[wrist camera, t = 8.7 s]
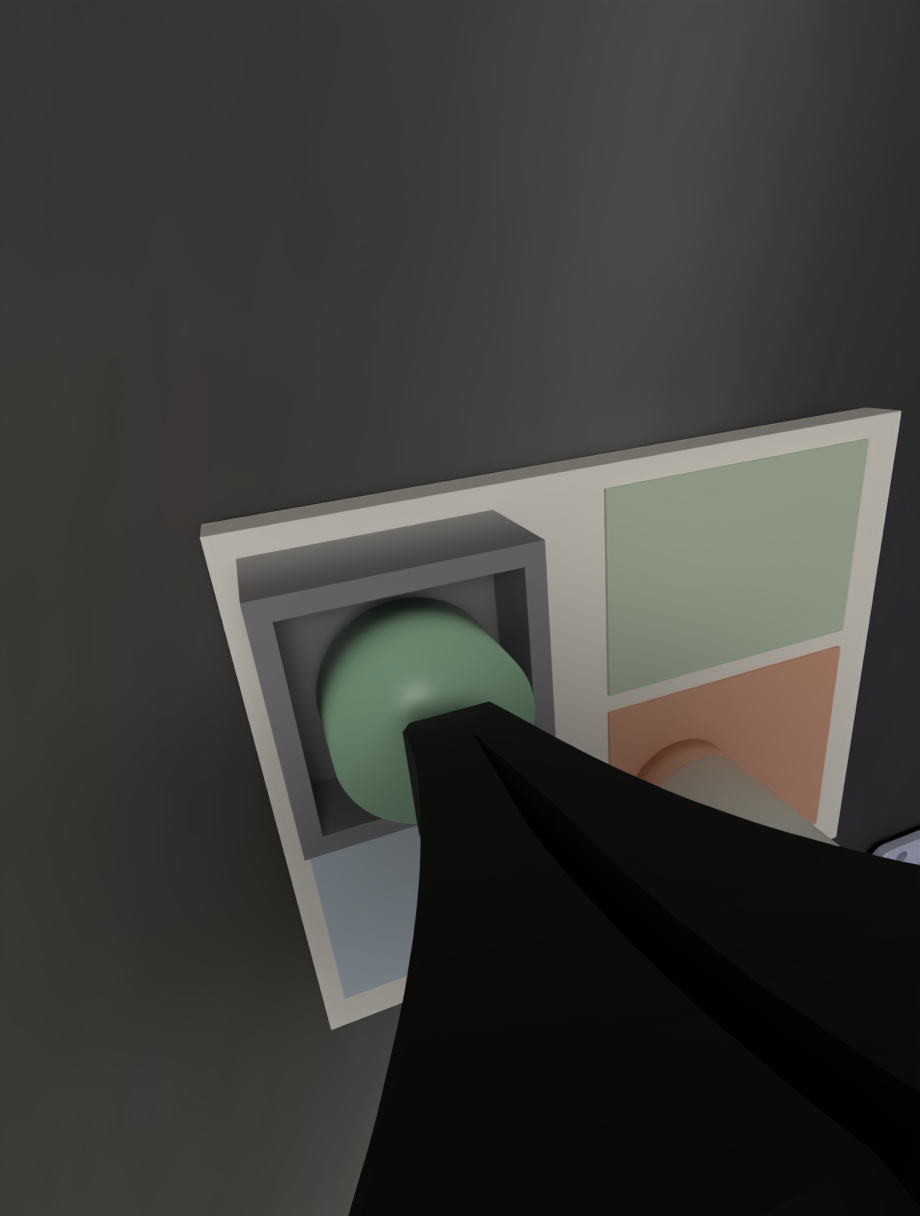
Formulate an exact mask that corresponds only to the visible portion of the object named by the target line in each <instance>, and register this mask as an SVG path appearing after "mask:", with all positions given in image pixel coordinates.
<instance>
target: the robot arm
mask: <svg viewBox="0 0 920 1216" xmlns="http://www.w3.org/2000/svg"><path fill="white" fill-rule="evenodd" d="M402 733H403V739H404V745H405V751H406V757H407V764H408V770H409V776H410V782H411V788H412V795H413V801H414V807H415V813H416V819H417V826H418V832H419V835H420V871H419V885H418V897H417V907H416V916H415V925H414V933H413V941H412V947H411V953H410V960H409V966H408V972H407V979H406V985H405V991H404V996H403V1002H402V1007H401V1012H400V1017H399V1022H398V1027H397V1032H396V1036H395V1040H394V1045H393V1049H392V1053H391V1057H390V1062H389V1066H388V1070H387V1075H386V1079H385V1083H384V1087H383V1092H382V1096H381V1100H380V1105H379V1109H378V1113H377V1117H376V1121H375V1125H374V1129H373V1132H372V1136H371V1140H370V1144H369V1148H368V1151H367V1154H366V1158H365V1161H364V1165H363V1168H362V1171H361V1175H360V1178H359V1182H358V1185H357V1188H356V1192H355V1195H354V1199H353V1202H352V1205H351V1209H350V1212H349V1216H920V830H918V831H915V832H913V833H910V834H908V835H905V836H903V837H900V838H898V839H895V840H893V841H890V842H888V843H885V844H883V845H881V846H879V847H878V848H877V849H876V850H875V851H874V852H873V854H868V853H864V852H860V851H856V850H851V849H847V848H844V847H840V846H836V845H833V844H829V843H825V842H822V841H818V840H814V839H811V838H807V837H803V836H800V835H796V834H793V833H789V832H785V831H782V830H779V829H775V828H772V827H769V826H766V825H762V824H759V823H756V822H753V821H750V820H747V819H744V818H741V817H738V816H735V815H733V814H730V813H727V812H724V811H721V810H718V809H716V808H713V807H710V806H707V805H704V804H701V803H699V802H696V801H693V800H691V799H688V798H685V797H683V796H680V795H678V794H675V793H673V792H670V791H668V790H665V789H663V788H661V787H659V786H656V785H654V784H652V783H649V782H647V781H645V780H643V779H640V778H638V777H636V776H634V775H631V774H629V773H627V772H624V771H622V770H620V769H618V768H616V767H614V766H612V765H610V764H608V763H605V762H603V761H601V760H599V759H597V758H595V757H593V756H591V755H589V754H587V753H585V752H583V751H581V750H579V749H577V748H576V747H574V746H572V745H570V744H568V743H566V742H564V741H562V740H560V739H558V738H556V737H555V736H553V735H551V734H549V733H547V732H545V731H544V730H542V729H540V728H538V727H536V726H534V725H533V724H531V723H529V722H527V721H525V720H524V719H522V718H520V717H518V716H516V715H514V714H513V713H511V712H509V711H507V710H505V709H503V708H502V707H500V706H498V705H496V704H494V703H492V702H490V701H488V702H484V703H481V704H477V705H473V706H470V707H466V708H462V709H459V710H455V711H451V712H448V713H444V714H440V715H437V716H433V717H429V718H426V719H422V720H418V721H415V722H411V723H409V724H408V725H407V727H406V728H405V729H404V731H403V732H402Z"/></svg>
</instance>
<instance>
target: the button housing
mask: <svg viewBox="0 0 920 1216" xmlns="http://www.w3.org/2000/svg"><path fill="white" fill-rule="evenodd" d="M236 566H237V577H238V589H239V601H240V607H241V611H242V615H243V619H244V623H245V627H246V631H247V634H248V638H249V642H250V646H251V650H252V654H253V658H254V662H255V666H256V670H257V674H258V678H259V682H260V686H261V690H262V694H263V698H264V702H265V706H266V710H267V714H268V718H269V722H270V725H271V729H272V733H273V737H274V741H275V745H276V749H277V753H278V757H279V761H280V765H281V769H282V773H283V777H284V781H285V785H286V789H287V793H288V797H289V801H290V805H291V809H292V813H293V817H294V820H295V824H296V828H297V832H298V836H299V840H300V844H301V848H302V852H303V856H304V860H305V861H306V860H309V859H312V858H315V857H318V856H322V855H325V854H328V853H331V852H334V851H337V850H341V849H344V848H347V847H350V846H353V845H357V844H360V843H363V842H366V841H369V840H373V839H376V838H379V837H382V836H385V835H389V834H392V833H395V832H398V831H401V830H405V829H408V828H411V827H414V826H417V824H406V823H398V822H393V821H388V820H385V819H382V818H380V817H377V816H375V815H373V814H371V813H369V812H367V811H366V810H364V809H363V808H361V807H360V806H359V805H357V804H356V803H355V802H354V801H353V800H352V799H351V798H350V797H349V796H348V794H347V793H346V792H345V790H344V789H343V787H342V786H341V784H340V782H339V780H338V778H337V776H336V773H335V769H334V766H333V762H332V759H331V755H330V752H329V748H328V744H327V741H326V737H325V734H324V730H323V726H322V723H321V719H320V715H319V712H318V708H317V701H316V683H317V677H318V672H319V669H320V666H321V663H322V660H323V658H324V656H325V654H326V652H327V650H328V649H329V647H330V645H331V644H332V642H333V641H334V640H335V638H336V637H337V636H338V635H339V633H340V632H341V631H342V630H343V629H344V628H345V627H346V626H347V625H348V624H349V623H351V622H352V621H353V620H355V619H356V618H357V617H359V616H360V615H361V614H363V613H365V612H367V611H368V610H370V609H372V608H374V607H376V606H379V605H381V604H383V603H386V602H390V601H393V600H397V599H403V598H412V597H424V598H434V599H438V600H442V601H446V602H448V603H451V604H453V605H456V606H457V607H459V608H461V609H463V610H464V611H466V612H467V613H468V614H470V615H471V616H472V617H473V618H474V619H475V620H476V621H477V622H478V623H479V624H480V625H481V626H482V627H483V628H484V629H485V630H486V631H487V632H488V633H489V635H490V636H491V637H492V638H493V639H494V640H495V641H496V642H497V643H498V644H499V645H500V646H501V647H502V648H503V649H504V650H505V651H506V652H507V653H508V655H509V656H510V657H511V658H512V659H513V660H514V661H515V662H516V663H517V664H518V665H519V666H520V668H521V669H522V671H523V672H524V674H525V675H526V677H527V679H528V681H529V683H530V686H531V689H532V692H533V696H534V702H535V724H534V726H536V727H538V728H540V729H542V730H544V731H545V732H547V733H549V734H551V735H553V736H555V737H556V733H555V714H554V696H553V677H552V659H551V640H550V622H549V603H548V585H547V566H546V548H545V540H544V539H542V538H541V537H539V536H537V535H536V534H534V533H532V532H530V531H529V530H527V529H525V528H524V527H522V526H520V525H518V524H517V523H515V522H513V521H512V520H510V519H508V518H506V517H505V516H503V515H501V514H500V513H498V512H496V511H494V510H489V511H483V512H478V513H473V514H468V515H463V516H457V517H452V518H447V519H442V520H436V521H431V522H426V523H421V524H415V525H410V526H405V527H400V528H394V529H389V530H384V531H379V532H374V533H368V534H363V535H358V536H353V537H347V538H342V539H337V540H332V541H326V542H321V543H316V544H311V545H306V546H300V547H295V548H290V549H285V550H279V551H274V552H269V553H264V554H258V555H253V556H248V557H243V558H238V559H236Z"/></svg>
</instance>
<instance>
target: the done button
mask: <svg viewBox="0 0 920 1216" xmlns="http://www.w3.org/2000/svg"><path fill="white" fill-rule="evenodd" d="M316 701H317V708H318V712H319V715H320V719H321V723H322V726H323V730H324V734H325V737H326V741H327V744H328V748H329V752H330V755H331V759H332V762H333V766H334V769H335V773H336V776H337V778H338V780H339V782H340V784H341V786H342V787H343V789H344V790H345V792H346V793H347V794H348V796H349V797H350V798H351V799H352V800H353V801H354V802H355V803H356V804H357V805H359V806H360V807H361V808H363V809H364V810H366V811H367V812H369V813H371V814H373V815H375V816H377V817H380V818H382V819H385V820H388V821H393V822H398V823H406V824H417V819H416V813H415V807H414V801H413V795H412V788H411V782H410V776H409V770H408V764H407V757H406V751H405V745H404V739H403V733H402V732H403V731H404V729H405V728H406V727H407V725H408V724H409V723H411V722H415V721H418V720H422V719H426V718H429V717H433V716H437V715H440V714H444V713H448V712H451V711H455V710H459V709H462V708H466V707H470V706H473V705H477V704H481V703H484V702H488V701H490V702H492V703H494V704H496V705H498V706H500V707H502V708H503V709H505V710H507V711H509V712H511V713H513V714H514V715H516V716H518V717H520V718H522V719H524V720H525V721H527V722H529V723H531V724H533V725H534V724H535V702H534V696H533V692H532V689H531V686H530V683H529V681H528V679H527V677H526V675H525V674H524V672H523V671H522V669H521V668H520V666H519V665H518V664H517V663H516V662H515V661H514V660H513V659H512V658H511V657H510V656H509V655H508V653H507V652H506V651H505V650H504V649H503V648H502V647H501V646H500V645H499V644H498V643H497V642H496V641H495V640H494V639H493V638H492V637H491V636H490V635H489V633H488V632H487V631H486V630H485V629H484V628H483V627H482V626H481V625H480V624H479V623H478V622H477V621H476V620H475V619H474V618H473V617H472V616H471V615H470V614H468V613H467V612H466V611H464V610H463V609H461V608H459V607H457V606H456V605H453V604H451V603H448V602H446V601H442V600H438V599H434V598H424V597H412V598H403V599H397V600H393V601H390V602H386V603H383V604H381V605H379V606H376V607H374V608H372V609H370V610H368V611H367V612H365V613H363V614H361V615H360V616H359V617H357V618H356V619H355V620H353V621H352V622H351V623H349V624H348V625H347V626H346V627H345V628H344V629H343V630H342V631H341V632H340V633H339V635H338V636H337V637H336V638H335V640H334V641H333V642H332V644H331V645H330V647H329V649H328V650H327V652H326V654H325V656H324V658H323V660H322V663H321V666H320V669H319V672H318V677H317V683H316Z"/></svg>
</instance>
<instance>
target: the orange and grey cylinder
mask: <svg viewBox="0 0 920 1216" xmlns="http://www.w3.org/2000/svg"><path fill="white" fill-rule="evenodd" d="M636 777H638V778H640V779H643V780H645V781H647V782H649V783H652V784H654V785H656V786H659V787H661V788H663V789H665V790H668V791H670V792H673V793H675V794H678V795H680V796H683V797H685V798H688V799H691V800H693V801H696V802H699V803H701V804H704V805H707V806H710V807H713V808H716V809H718V810H721V811H724V812H727V813H730V814H733V815H735V816H738V817H741V818H744V819H747V820H750V821H753V822H756V823H759V824H762V825H766V826H769V827H772V828H775V829H779V830H782V831H785V832H789V833H793V834H796V835H800V836H803V837H807V838H811V839H814V840H818V841H822V842H825V843H829V844H833V845H836V846H839V845H838V844H836V843H835V842H834V841H833V840H831V839H830V838H829V837H828V836H826V835H825V834H824V833H823V832H821V831H820V830H819V829H818V828H816V827H815V826H814V825H813V824H811V823H810V822H809V821H808V820H806V819H805V818H804V817H803V816H801V815H800V814H799V813H798V812H796V811H795V810H794V809H793V808H791V807H790V806H789V805H788V804H786V803H785V802H784V801H783V800H781V799H780V798H779V797H778V796H776V795H775V794H774V793H773V792H771V791H770V790H769V789H768V788H766V787H765V786H764V785H763V784H761V783H760V782H759V781H758V780H756V779H755V778H754V777H753V776H751V775H750V774H749V773H748V772H746V771H745V770H744V769H743V768H741V767H740V766H739V764H737V763H736V762H735V761H734V760H733V759H731V758H730V757H729V756H728V755H726V754H725V753H724V752H723V751H721V750H720V749H719V748H718V747H716V746H715V745H714V744H712V743H711V742H709V741H706V740H702V739H686V740H682V741H678V742H676V743H673V744H671V745H669V746H667V747H665V748H664V749H662V750H661V751H659V752H658V753H657V754H655V755H654V756H653V757H652V758H651V759H650V760H649V761H648V762H647V763H646V764H645V765H644V766H643V767H642V769H641V770H640V772H639V773H638V775H637V776H636Z"/></svg>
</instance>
